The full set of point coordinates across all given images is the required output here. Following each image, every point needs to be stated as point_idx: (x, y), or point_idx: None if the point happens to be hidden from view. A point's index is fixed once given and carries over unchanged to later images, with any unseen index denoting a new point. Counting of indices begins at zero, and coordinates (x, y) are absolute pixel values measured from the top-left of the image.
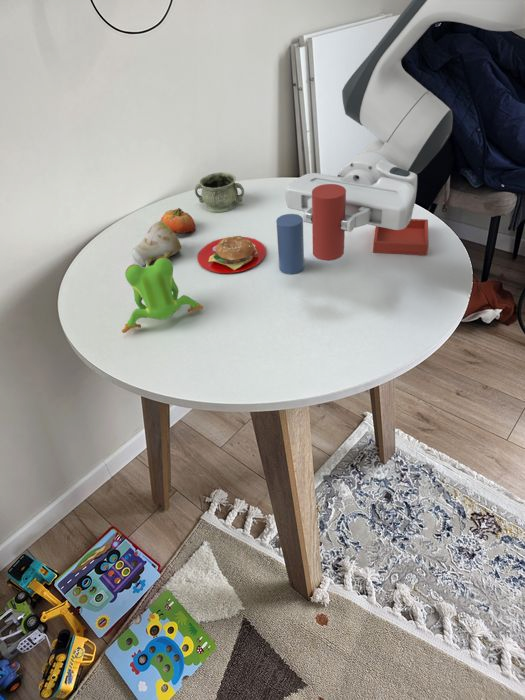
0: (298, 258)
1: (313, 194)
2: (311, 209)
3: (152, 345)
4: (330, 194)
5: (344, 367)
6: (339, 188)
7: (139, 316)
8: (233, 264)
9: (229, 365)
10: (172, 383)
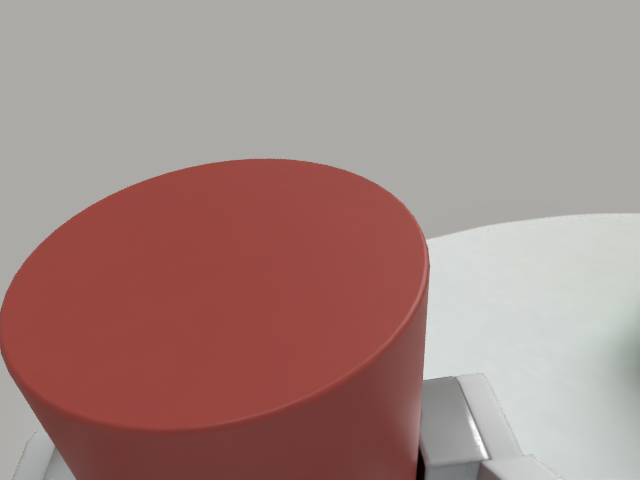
0: None
1: (329, 166)
2: (461, 430)
3: (601, 281)
4: (168, 213)
5: None
6: (105, 340)
7: None
8: None
9: None
10: (455, 252)
